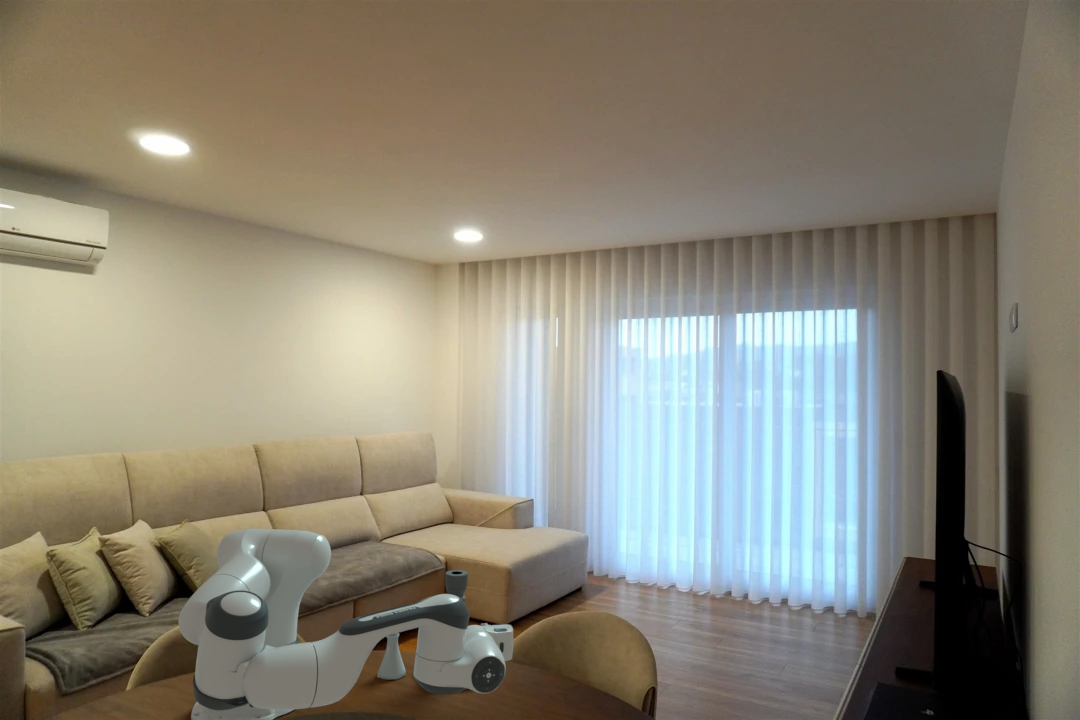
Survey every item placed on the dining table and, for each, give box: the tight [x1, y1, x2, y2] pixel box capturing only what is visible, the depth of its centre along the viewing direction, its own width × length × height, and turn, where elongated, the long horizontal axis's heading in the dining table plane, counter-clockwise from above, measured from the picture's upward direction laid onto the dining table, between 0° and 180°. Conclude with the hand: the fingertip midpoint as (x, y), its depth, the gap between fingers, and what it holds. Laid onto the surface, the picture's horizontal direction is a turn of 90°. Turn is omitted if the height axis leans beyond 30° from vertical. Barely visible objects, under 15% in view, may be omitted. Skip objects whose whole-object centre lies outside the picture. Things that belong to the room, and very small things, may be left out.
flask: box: [376, 632, 407, 680], centre depth 176 cm, size 7×7×10 cm
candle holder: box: [444, 569, 469, 602], centre depth 176 cm, size 6×6×25 cm
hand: (463, 627), depth 165 cm, fingers open, 8 cm apart
